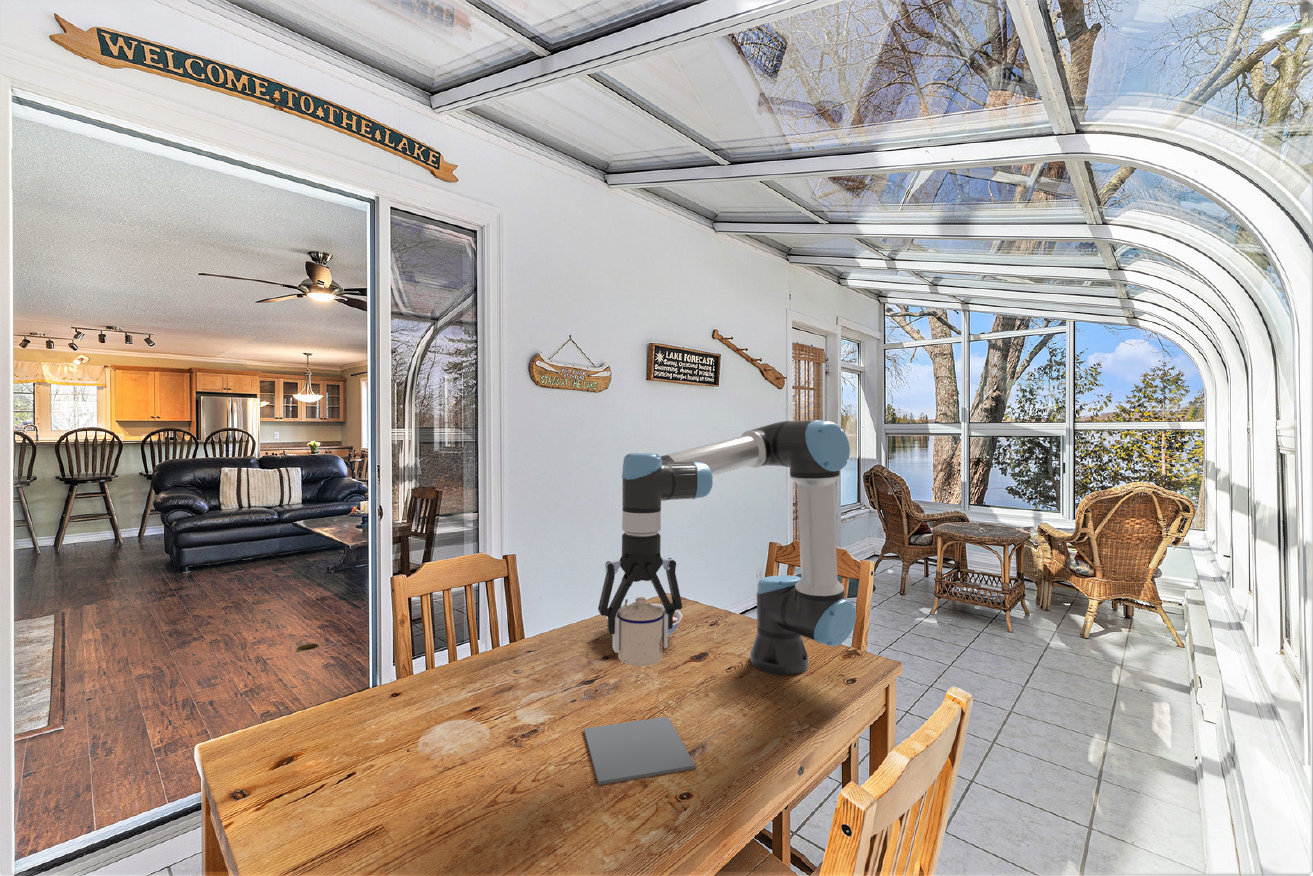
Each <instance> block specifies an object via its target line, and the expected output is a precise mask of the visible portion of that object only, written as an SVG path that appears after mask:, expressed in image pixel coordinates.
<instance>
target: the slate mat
mask: <svg viewBox="0 0 1313 876" xmlns="http://www.w3.org/2000/svg"><path fill="white" fill-rule="evenodd" d="M583 732H584V738H585V740H586V743H587V744H586V745H587V747H588V751H589V755H590V758H591V763H592V766H593V770H594V773H595V777H596V781H597V784H598V786H601V785H607V784H612V783H619V782H625V781H630V780H637V779H643V778H648V777H654V776H659V775H661V776H662V775H666V774H673V773H677V772H678V773H679V772H683V771H690V770H696V763H695V761H694V760H693V758H692V756H691V755H690V753H689V751H688V750H687V748H686V746H685V744H684V743H683V741H682V739H681V737H680V735H679V734H678V733H677V730H676V729H675V727H674V725H673V723H672V722H671V720H670V717H669V716H662V717H655V718H648V719H641V720H640V719H639V720H632V721H627V722H620V723H612V724H605V725H599V726H591V727H585V728H583Z"/></svg>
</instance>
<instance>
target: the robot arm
mask: <svg viewBox="0 0 1313 876" xmlns="http://www.w3.org/2000/svg"><path fill="white" fill-rule="evenodd" d="M850 449H851V448H850V442H849V439H848V436H847V434H846V433H845V431H844V429H842V428H841V426H840V425H839V424H837V423H835V422H832V421H826V420H821V419H820V420H818V419H816V420H799V421H798V420H795V421H794V420H793V421H792V420H785V421H779V422H774V423H771V424H767V425H764V426H760V427H758V428H753V429H750V430H746V431H744V432H743V433H742V434H741V435H740V436H737V437H733V438H730V439H725V440H721V441H717V442H713V443H709V444H705V445H701V446H697V447H693V448H689V449H684V450H680V451H676V452H673V453H668V454H665V455H664V454H663V455H660V454H659V453H655V452H654V453H653V452H651V453H650V452H646V453H645V452H644V453H643V452H639V453H638V452H633V453H632V452H631V453H627V454H626V455H625V456H624V457H623V461H622V462H623V463H622V473H621V478H622V479H621V480H622V514H621V515H622V517H621V518H622V520H621V522H622V523H621V524H622V525H621V530H622V531H623V534H621V557H620V558H619V560H618V561H612V562H611V561H610V560H609V561H606V562H605V573H606V574H605V577H604V582H603V586H602V590H601V595H600V599H599V603H598V607H597V610H598V612H599V614H600V616H603V617H604V616H605V617H606V616H607V617H608V621H607V629H606V630H607V632H608V633H609V635H612V650H613V651H614V653H616V654H618V652H619V617H618V616H617V612H618V610H619V608H620V606H621V604H622V605H623V601H624V600H625V597H626V596H627V593H628V592H629V590H630V587H632V584H633V583H635V582H638V583H639V582H641V581H644V582H651V584H652V586H653V587H654V590H655V592H656V594H657V596H658V598H659V600H660V602H661V605H663V606H664V608H665V610H662V611H663V613H664V617H663V627H662V648H664V649H667V648H669V646H668V645H669V636H668V629H672V627H673V614H674V613H675V610H679V611H680V610H682V608H683V603H682V598H681V593H680V589H679V583H678V579H677V575H676V574H677V573H676V570H677V569H676V567H677V561H676V560H674V559H673V558H671V557H669V558H662V555H661V544H662V542H661V540H662V539H661V538H662V537H661V534H660V533H659V532H660V531H661V528H662V527H661V526H662V525H661V524H662V523H661V522H662V519H661V517H662V515H661V514H662V513H661V510H662V501H671V500H675V501H676V500H689V499H690V500H691V499H692V500H696V499H700V498H704V497H706V496H707V495H709V494H710V492H711V491H712V489H713V484H714V483H713V477H714V476H716V475H717V476H718V475H720V474H724V473H727V472H731V471H734V470H738V469H741V468H745V467H750V468H755V469H757V468H760V467H765V466H766V467H767V466H772V467H773V466H776V467H786V468H789V476H790V478H791V480H793V482H794V483H796V490H797V491H796V492H797V510H798V511H797V513H798V536H799V538H798V539H799V540H798V541H799V558H800V576H797V575H770V576H766V577H763V578H761V579H760V580H759V581H758V583H757V591H756V625H757V626H756V629H757V630H756V636H755V639H754V641H753V645H752V647H751V650H750V654H749V655H750V658H749V659H750V664H751V666H753V667H754V668H755V669H757V670H759V671H760V672H763V673H766V674H771V675H776V676H777V675H778V676H795V675H799V673H800V674H803V673H804V672H806V671H807V670H808V669H807V668H809V656H808V652H807V649H806V646H805V643H804V642H805V641H804V639H803V637H805V638H806V639H809V640H812V641H814V642H816V643H817V644H823V645H825V646H829V647H837V646H840V645H841V644H843V643H844V642H845V641H846V640H847V639H848V638H849V637H850V635H851V633H852V631H853V630H854V628H855V623H856V620H857V611H856V607H855V605H854V604H853V602H852V601H850V600H849V599H847V598H845V597H846V596H845V595H846V594H845V585H843V584H842V582H840V581H839V580H838V564H837V563H838V560H837V559H838V557H837V542H836V541H837V537H836V536H837V535H836V533H837V532H836V511H835V509H836V508H835V485H834V484H835V482H836V481H837V480H838V479H839V478H840V476H841V470H843V469H844V468H845V467H846V465H847V464H848V460H849V459H850V455H851V454H850V453H851V450H850ZM662 566H663V569H664V570H665V572H666V578H667V582H668V588H669V591H670V597H671V601H672V602H670V599H669V598H668V595H667V593H666V591H665V589H664V587H663V585H662V583H661V580H660V579H659V576H658V574H657V573H658V571H659V570H660V568H661V567H662ZM619 568H621V569H622V571H623V572H624V574H623V576H622V578H621V582H620V584H619V586H618V588H617V590H616V592H615V595H614V597H613V598H612V600H611V594H612V590H613V586H614V582H615V576H616V574H617V573H618V570H619ZM610 600H611V601H610ZM609 603H610V605H609Z"/></svg>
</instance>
